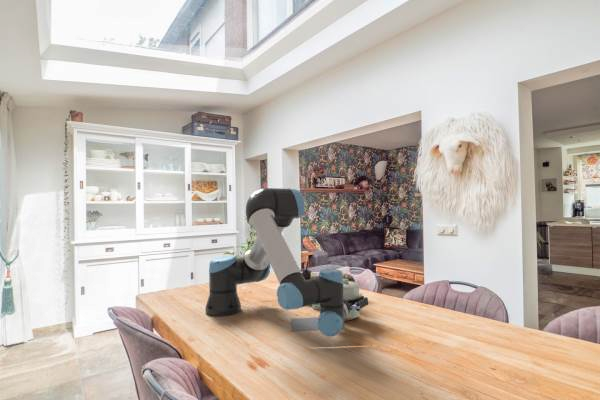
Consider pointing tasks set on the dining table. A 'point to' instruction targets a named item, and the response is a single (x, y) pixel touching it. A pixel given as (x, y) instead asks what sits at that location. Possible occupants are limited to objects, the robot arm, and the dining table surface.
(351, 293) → the ribbed plastic canister
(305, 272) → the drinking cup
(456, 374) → the dining table surface
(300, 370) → the dining table surface
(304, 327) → the plate
